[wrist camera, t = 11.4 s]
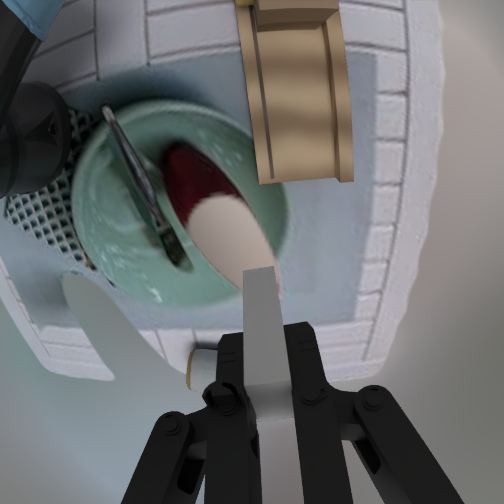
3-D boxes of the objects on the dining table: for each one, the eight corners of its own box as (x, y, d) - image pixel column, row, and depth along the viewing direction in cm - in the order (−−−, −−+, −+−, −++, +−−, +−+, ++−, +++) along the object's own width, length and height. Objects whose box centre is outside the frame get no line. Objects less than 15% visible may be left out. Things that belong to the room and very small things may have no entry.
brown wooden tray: (344, 172, 33) (355, 183, 30) (259, 180, 34) (260, 191, 31) (323, -22, 22) (331, -34, 18) (231, -19, 22) (229, -31, 19)
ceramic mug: (190, 338, 46) (183, 376, 40) (241, 342, 47) (240, 381, 40) (193, 376, 52) (188, 411, 45) (238, 380, 52) (237, 415, 46)
